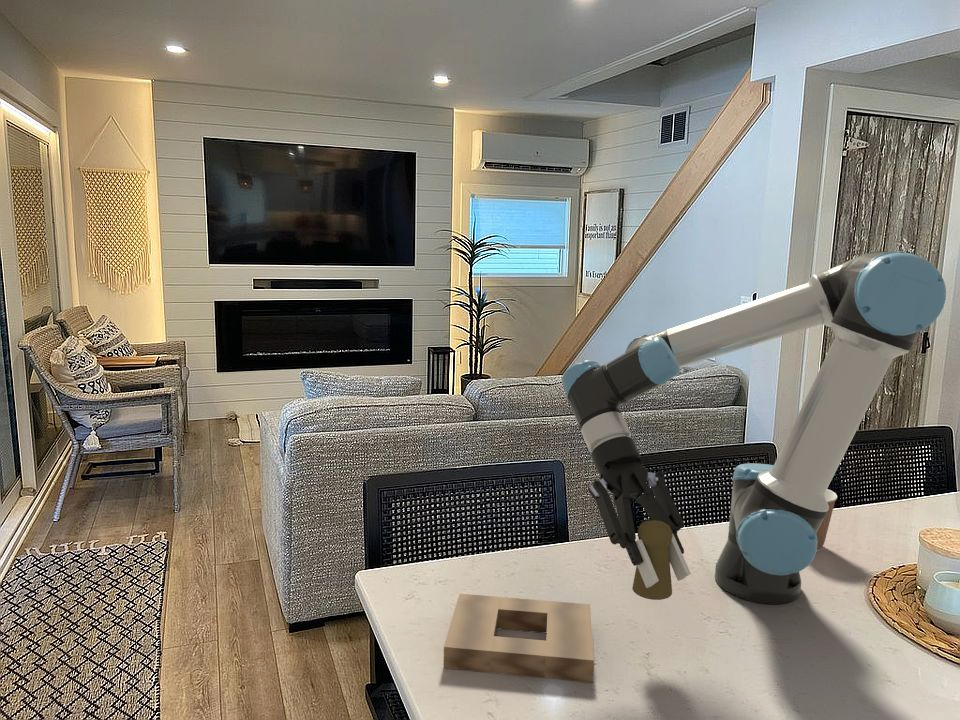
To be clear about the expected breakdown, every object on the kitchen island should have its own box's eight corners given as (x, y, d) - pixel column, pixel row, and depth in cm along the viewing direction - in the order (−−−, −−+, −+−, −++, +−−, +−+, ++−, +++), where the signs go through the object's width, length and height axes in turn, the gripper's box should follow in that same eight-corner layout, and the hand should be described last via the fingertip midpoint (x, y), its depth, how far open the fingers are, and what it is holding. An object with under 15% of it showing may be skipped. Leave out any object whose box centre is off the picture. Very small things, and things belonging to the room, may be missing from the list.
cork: (673, 601, 107) (677, 532, 105) (632, 597, 108) (635, 529, 106) (671, 582, 113) (674, 517, 111) (632, 579, 114) (635, 514, 112)
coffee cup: (827, 539, 155) (833, 487, 153) (834, 559, 145) (840, 503, 143) (776, 532, 158) (782, 480, 156) (780, 550, 149) (785, 496, 147)
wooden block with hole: (588, 623, 119) (590, 604, 118) (592, 682, 103) (594, 660, 103) (459, 612, 121) (459, 593, 121) (443, 668, 106) (443, 646, 105)
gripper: (645, 450, 125) (703, 578, 113) (555, 462, 118) (606, 600, 106) (666, 428, 119) (729, 561, 107) (572, 440, 112) (629, 583, 100)
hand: (668, 580), depth 106 cm, fingers closed on cork, 5 cm apart
